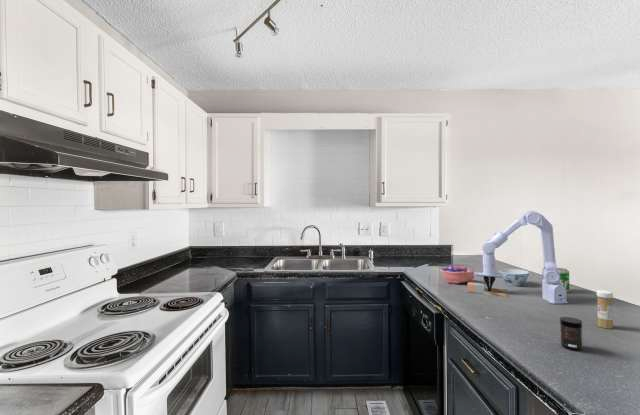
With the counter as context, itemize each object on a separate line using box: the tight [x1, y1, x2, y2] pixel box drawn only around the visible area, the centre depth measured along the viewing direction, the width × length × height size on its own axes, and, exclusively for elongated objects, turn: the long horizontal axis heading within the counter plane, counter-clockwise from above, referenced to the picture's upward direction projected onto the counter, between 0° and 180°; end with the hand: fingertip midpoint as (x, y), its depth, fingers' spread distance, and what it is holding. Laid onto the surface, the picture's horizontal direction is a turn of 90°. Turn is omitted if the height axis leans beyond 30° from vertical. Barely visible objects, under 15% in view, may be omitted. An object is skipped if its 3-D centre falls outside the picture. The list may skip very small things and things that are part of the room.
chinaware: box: [498, 268, 530, 287], centre depth 184 cm, size 15×15×8 cm
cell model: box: [439, 264, 476, 285], centre depth 190 cm, size 17×20×11 cm
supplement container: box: [559, 316, 584, 352], centre depth 104 cm, size 6×6×9 cm
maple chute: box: [467, 286, 509, 298], centre depth 167 cm, size 20×14×2 cm
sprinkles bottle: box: [596, 289, 614, 330], centre depth 120 cm, size 5×5×13 cm
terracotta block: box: [466, 281, 477, 293], centre depth 170 cm, size 4×5×4 cm
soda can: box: [557, 267, 571, 294], centre depth 167 cm, size 8×8×12 cm
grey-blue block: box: [475, 282, 486, 294], centre depth 168 cm, size 4×5×4 cm
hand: (489, 290), depth 166 cm, fingers closed
